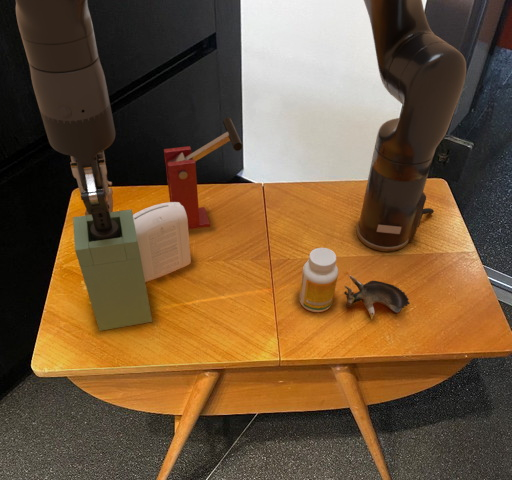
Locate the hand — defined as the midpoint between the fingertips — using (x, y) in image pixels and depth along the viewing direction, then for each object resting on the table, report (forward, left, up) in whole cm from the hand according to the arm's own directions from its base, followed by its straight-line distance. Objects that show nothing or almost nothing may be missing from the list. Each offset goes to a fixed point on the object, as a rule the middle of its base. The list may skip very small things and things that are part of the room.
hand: (104, 227), depth 73 cm
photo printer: (-7, -8, -16) cm, 20 cm away
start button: (0, 0, -3) cm, 3 cm away
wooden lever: (-18, -19, -3) cm, 26 cm away
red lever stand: (-13, -19, -16) cm, 28 cm away
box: (0, 0, -16) cm, 16 cm away
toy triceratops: (-38, +9, -16) cm, 42 cm away
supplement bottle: (-30, +5, -16) cm, 35 cm away
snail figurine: (+1, -15, -16) cm, 22 cm away
